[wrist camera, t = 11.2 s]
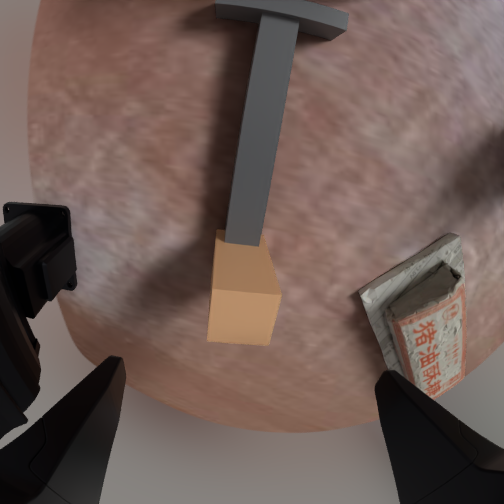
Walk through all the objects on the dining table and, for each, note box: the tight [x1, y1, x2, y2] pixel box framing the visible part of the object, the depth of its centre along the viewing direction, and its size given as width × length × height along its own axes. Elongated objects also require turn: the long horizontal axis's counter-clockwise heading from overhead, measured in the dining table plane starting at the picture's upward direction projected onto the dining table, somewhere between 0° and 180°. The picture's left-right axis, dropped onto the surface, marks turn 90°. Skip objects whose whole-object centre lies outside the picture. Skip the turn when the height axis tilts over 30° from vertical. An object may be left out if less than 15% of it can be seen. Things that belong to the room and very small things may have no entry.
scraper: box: [207, 0, 349, 346], centre depth 13 cm, size 7×18×7 cm, turn 171°
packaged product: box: [359, 233, 467, 400], centre depth 23 cm, size 18×5×10 cm
